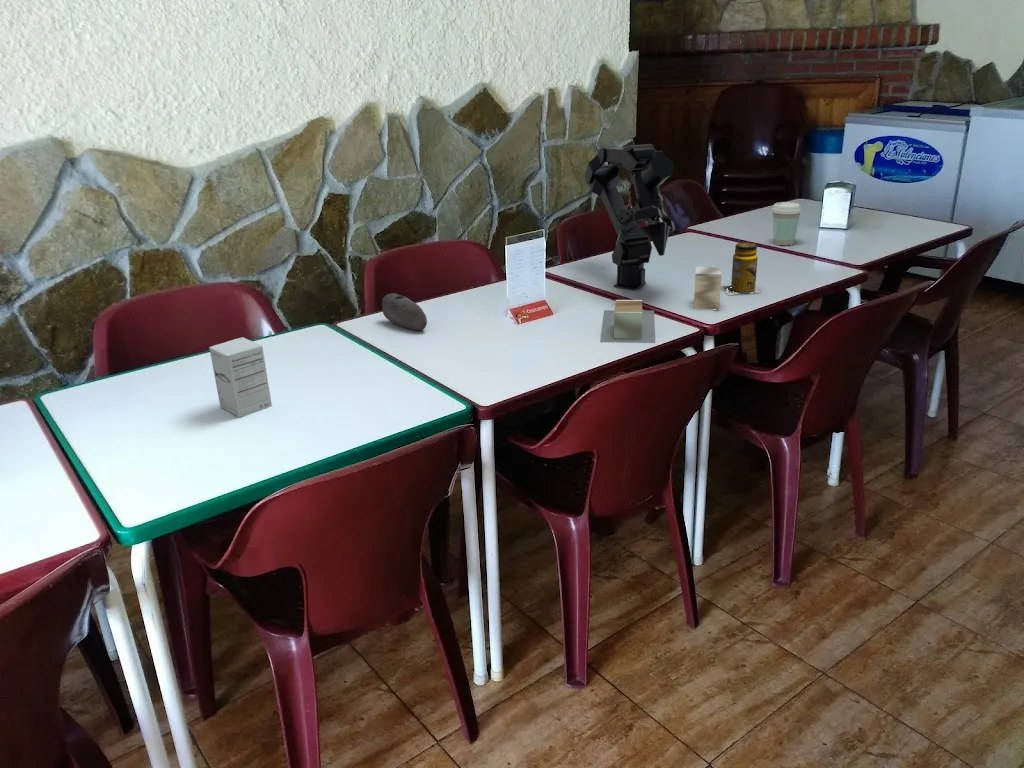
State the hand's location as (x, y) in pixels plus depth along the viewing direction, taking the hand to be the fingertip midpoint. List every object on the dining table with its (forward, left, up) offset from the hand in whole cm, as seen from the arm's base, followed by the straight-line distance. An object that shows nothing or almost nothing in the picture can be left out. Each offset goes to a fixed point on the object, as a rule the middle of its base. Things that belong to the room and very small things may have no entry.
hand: (661, 255), depth 206 cm
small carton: (0, -19, -9) cm, 21 cm away
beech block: (+11, +3, -12) cm, 17 cm away
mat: (0, -19, -12) cm, 23 cm away
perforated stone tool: (-47, -41, -13) cm, 64 cm away
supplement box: (-46, -92, -13) cm, 104 cm away
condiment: (+14, +19, -13) cm, 27 cm away
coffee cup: (+11, +70, -13) cm, 72 cm away
